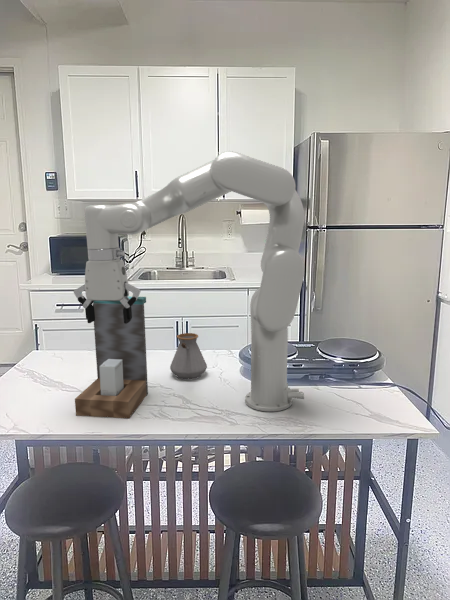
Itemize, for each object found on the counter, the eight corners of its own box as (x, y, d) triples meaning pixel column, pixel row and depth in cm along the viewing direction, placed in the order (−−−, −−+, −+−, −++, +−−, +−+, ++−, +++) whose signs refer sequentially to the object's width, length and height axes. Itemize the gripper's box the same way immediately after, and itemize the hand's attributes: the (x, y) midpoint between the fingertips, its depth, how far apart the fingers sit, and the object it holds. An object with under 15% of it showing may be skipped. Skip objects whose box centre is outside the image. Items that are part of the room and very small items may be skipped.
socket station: (150, 390, 129) (145, 296, 124) (129, 418, 112) (123, 311, 107) (103, 388, 131) (97, 295, 126) (76, 415, 114) (67, 309, 109)
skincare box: (117, 410, 117) (114, 366, 114) (101, 409, 117) (98, 366, 115) (125, 400, 123) (122, 359, 120) (110, 400, 123) (107, 358, 121)
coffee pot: (172, 368, 147) (171, 324, 144) (208, 368, 147) (207, 324, 144) (163, 395, 126) (161, 344, 123) (204, 395, 126) (203, 344, 123)
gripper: (142, 253, 115) (146, 318, 118) (77, 254, 117) (83, 318, 120) (132, 256, 107) (137, 326, 111) (63, 257, 110) (70, 325, 113)
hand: (109, 322), depth 116 cm, fingers open, 9 cm apart
